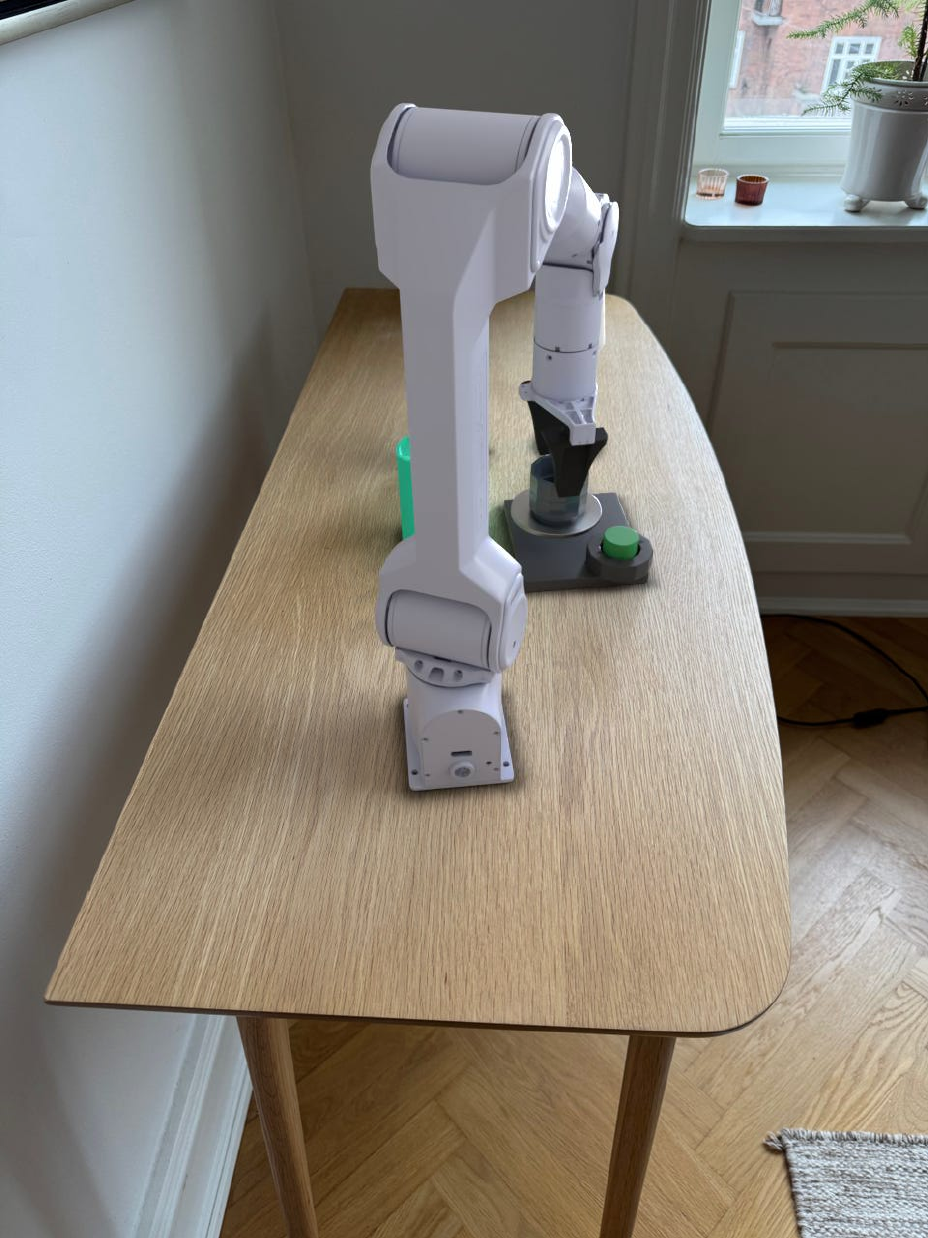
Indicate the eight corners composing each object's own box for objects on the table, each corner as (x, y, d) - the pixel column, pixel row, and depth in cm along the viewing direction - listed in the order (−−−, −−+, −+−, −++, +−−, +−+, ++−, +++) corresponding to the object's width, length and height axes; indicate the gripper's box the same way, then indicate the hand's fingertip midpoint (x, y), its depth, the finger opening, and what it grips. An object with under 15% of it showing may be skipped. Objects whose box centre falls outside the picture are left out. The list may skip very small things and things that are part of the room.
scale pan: (610, 535, 88) (610, 531, 88) (517, 542, 88) (518, 537, 87) (591, 484, 95) (591, 480, 95) (505, 490, 94) (505, 486, 94)
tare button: (640, 559, 86) (642, 544, 85) (606, 561, 86) (608, 546, 84) (632, 539, 88) (634, 524, 87) (599, 541, 88) (601, 526, 87)
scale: (656, 589, 87) (660, 564, 85) (524, 599, 86) (525, 574, 84) (620, 501, 98) (622, 477, 96) (503, 509, 97) (504, 485, 95)
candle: (454, 557, 90) (450, 451, 83) (395, 551, 91) (386, 445, 84) (466, 523, 95) (464, 419, 87) (410, 517, 96) (403, 414, 88)
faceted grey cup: (585, 493, 93) (588, 454, 90) (585, 525, 89) (589, 486, 86) (530, 491, 93) (531, 452, 90) (527, 523, 89) (529, 483, 86)
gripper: (504, 309, 84) (502, 439, 93) (540, 380, 73) (534, 520, 82) (578, 303, 85) (570, 432, 94) (625, 372, 74) (610, 511, 83)
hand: (558, 473), depth 88 cm, fingers open, 7 cm apart
